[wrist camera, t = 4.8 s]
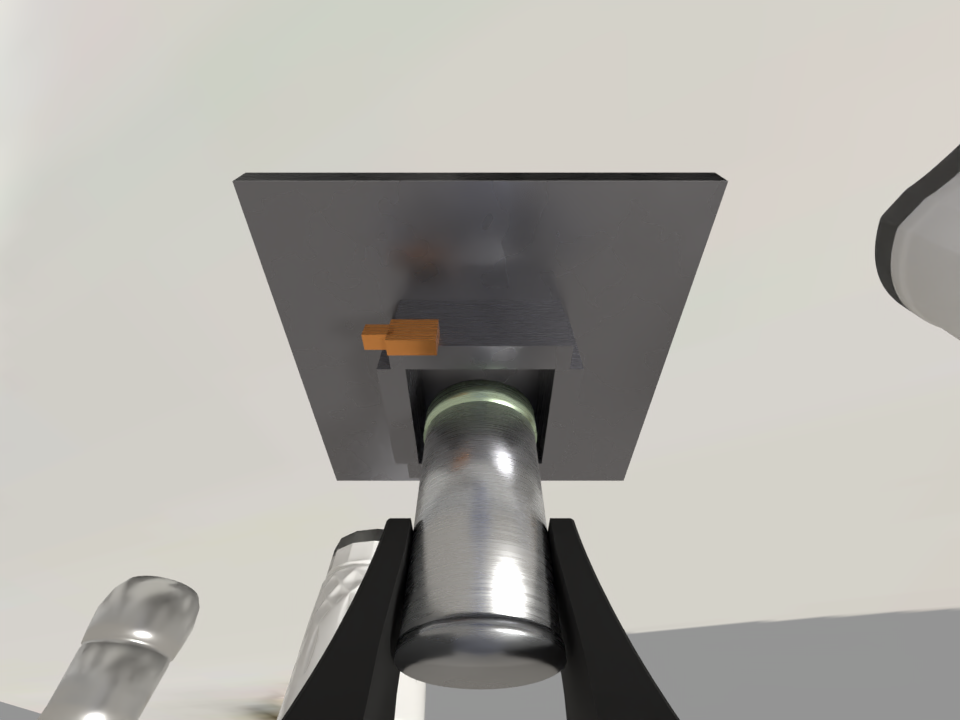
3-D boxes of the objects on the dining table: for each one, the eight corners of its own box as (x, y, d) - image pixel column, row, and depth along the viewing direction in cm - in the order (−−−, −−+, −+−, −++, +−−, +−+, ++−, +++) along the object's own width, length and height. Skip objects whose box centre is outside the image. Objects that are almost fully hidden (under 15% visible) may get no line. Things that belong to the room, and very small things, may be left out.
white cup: (353, 581, 34) (314, 750, 26) (308, 529, 29) (244, 718, 21) (449, 571, 33) (440, 745, 25) (420, 516, 28) (396, 710, 20)
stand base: (245, 172, 14) (170, 220, 11) (714, 172, 14) (790, 220, 11) (341, 466, 24) (318, 540, 21) (618, 466, 24) (642, 540, 21)
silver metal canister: (422, 377, 15) (380, 631, 9) (538, 377, 15) (579, 630, 9) (430, 452, 18) (403, 689, 11) (529, 452, 18) (557, 689, 11)
